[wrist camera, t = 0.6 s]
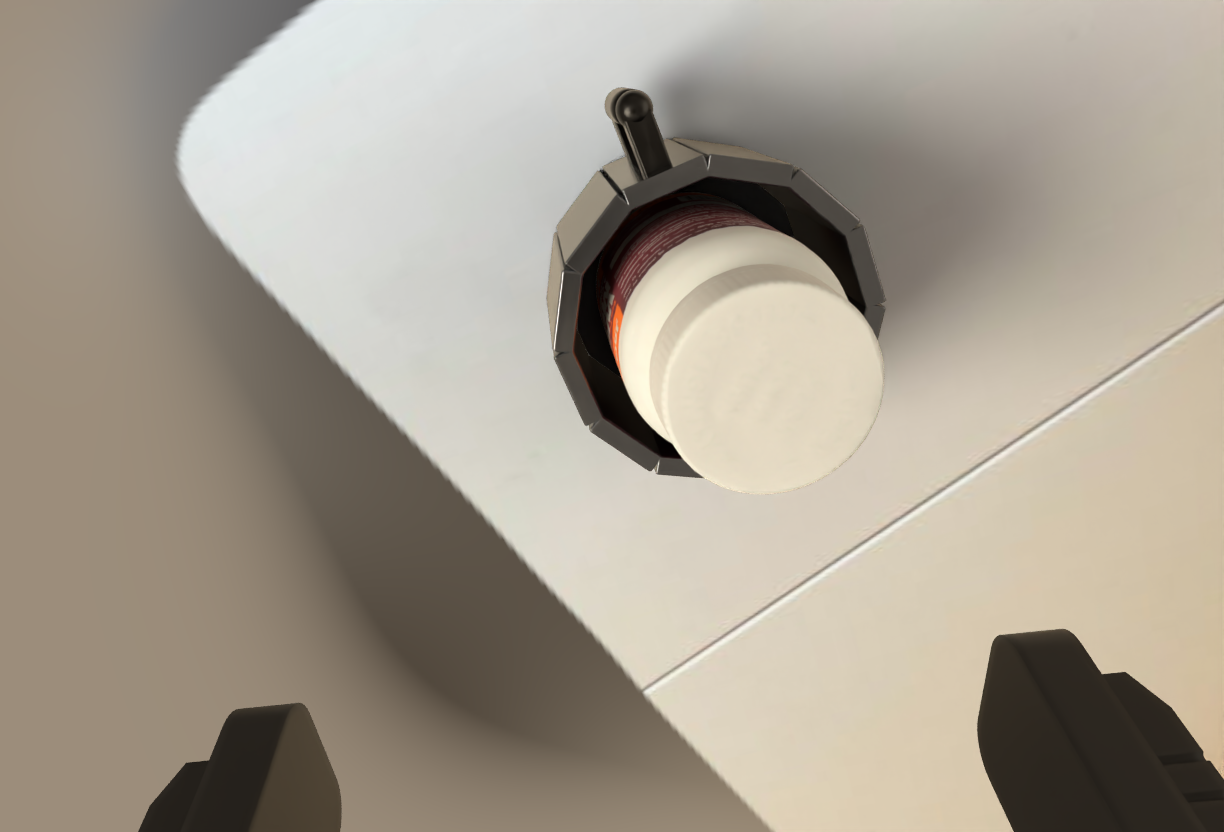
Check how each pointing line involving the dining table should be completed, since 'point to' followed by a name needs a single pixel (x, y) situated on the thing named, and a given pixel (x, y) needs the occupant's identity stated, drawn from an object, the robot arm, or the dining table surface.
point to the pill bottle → (737, 344)
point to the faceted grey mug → (648, 178)
